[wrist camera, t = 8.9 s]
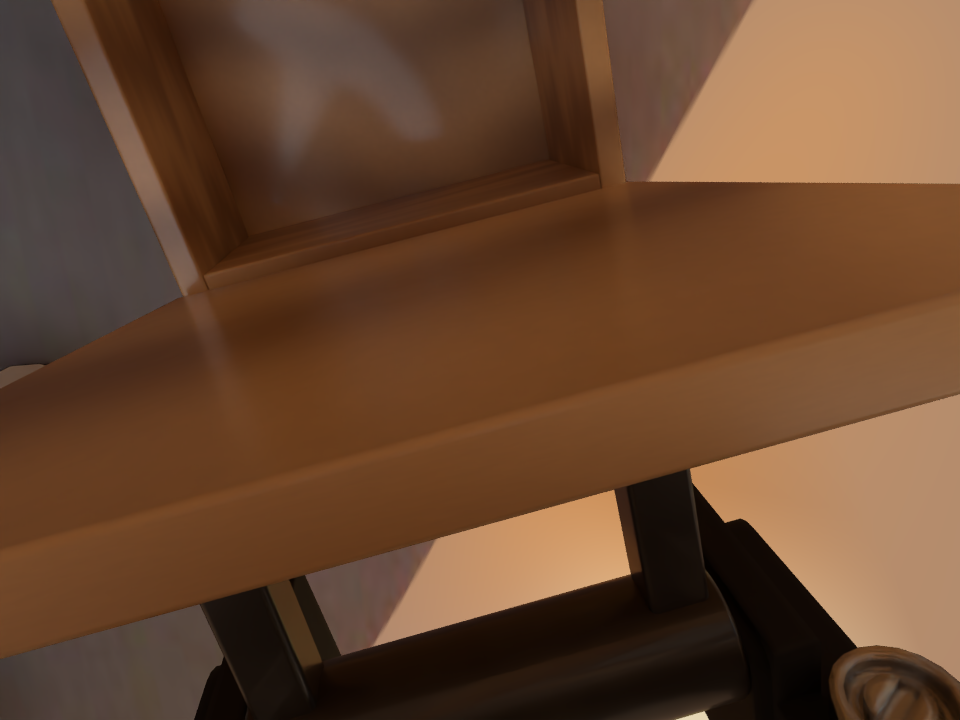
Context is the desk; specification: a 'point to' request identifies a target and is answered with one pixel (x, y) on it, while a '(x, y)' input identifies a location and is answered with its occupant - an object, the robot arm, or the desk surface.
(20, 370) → the white tumbler
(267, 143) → the box
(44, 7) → the desk surface
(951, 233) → the lid
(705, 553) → the robot arm
